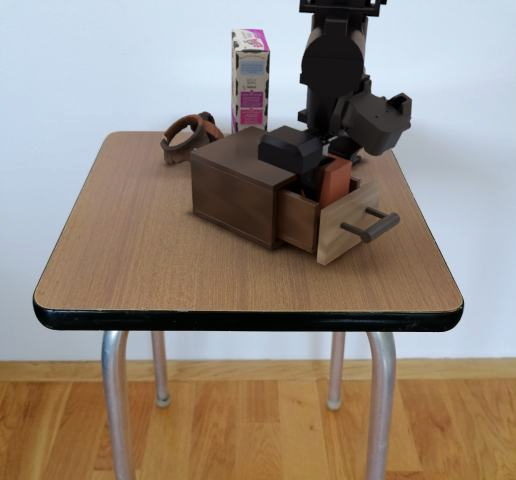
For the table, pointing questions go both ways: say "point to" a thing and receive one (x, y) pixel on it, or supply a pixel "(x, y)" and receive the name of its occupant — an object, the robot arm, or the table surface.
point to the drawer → (331, 219)
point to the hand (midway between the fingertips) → (324, 199)
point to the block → (334, 182)
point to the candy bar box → (249, 79)
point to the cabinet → (238, 187)
